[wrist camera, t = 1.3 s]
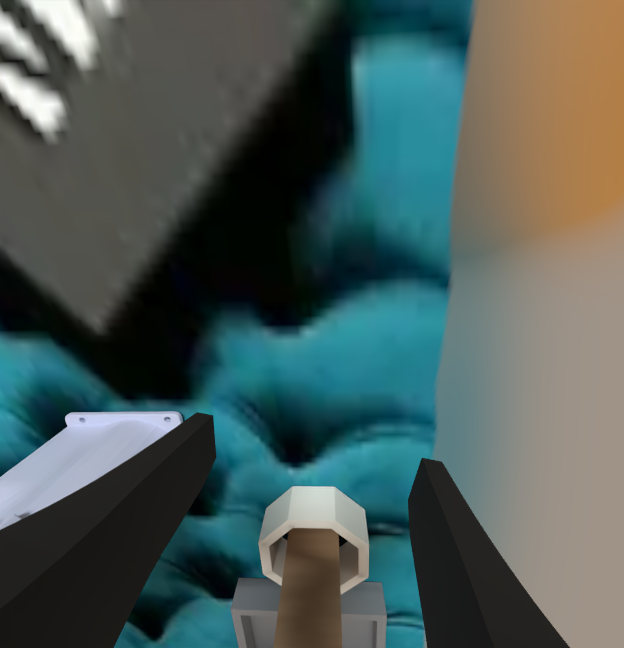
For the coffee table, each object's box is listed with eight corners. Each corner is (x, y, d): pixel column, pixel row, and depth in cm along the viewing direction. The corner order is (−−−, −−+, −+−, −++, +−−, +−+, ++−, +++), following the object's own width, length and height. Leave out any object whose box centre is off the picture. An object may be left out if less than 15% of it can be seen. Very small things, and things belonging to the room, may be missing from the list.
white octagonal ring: (272, 556, 27) (265, 594, 24) (263, 485, 25) (254, 519, 22) (364, 558, 27) (368, 597, 24) (364, 486, 24) (369, 521, 21)
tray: (251, 644, 32) (245, 678, 29) (238, 577, 28) (230, 609, 26) (379, 650, 31) (383, 685, 28) (381, 582, 27) (386, 615, 25)
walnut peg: (295, 538, 26) (279, 686, 18) (292, 506, 25) (273, 647, 17) (338, 539, 26) (343, 690, 18) (337, 506, 25) (342, 651, 16)
